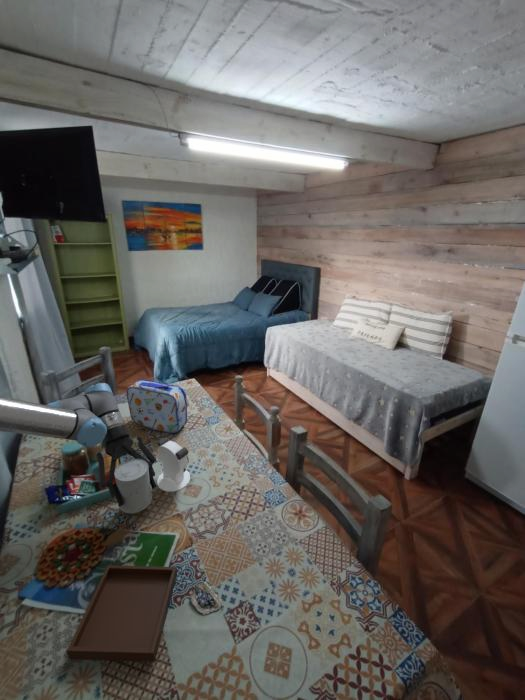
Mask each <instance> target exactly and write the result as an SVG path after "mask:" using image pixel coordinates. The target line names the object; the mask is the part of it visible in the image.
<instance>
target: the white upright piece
mask: <svg viewBox="0 0 525 700" xmlns="http://www.w3.org/2000/svg"><path fill="white" fill-rule="evenodd" d="M156 445H157V447H158V450H157V456H158V459H159V461H160V463H161V465H162V473H160V474H159V476H158V478H157V479H156V485H157V487H158V488H159V489H160V490H161V491H162V492H163V491H164V492H166V493H174V492H178V491H180V490H182V489H184V488H185V487H186V486H187V485H189V483H190V480H191V474H190V472H189V471H188V470H187V468H186V467H188V465H189V463H190V460H189V457H188V455H189V451H188V449H187V448H186V447H182V446H181V445H180V444H178V443H177V442H175V441H173V440H170V439H169V437H166V436H165V437H164V438H162V439H160V440H159V441H157V442H156Z"/></svg>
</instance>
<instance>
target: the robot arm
mask: <svg viewBox="0 0 525 700" xmlns="http://www.w3.org/2000/svg"><path fill="white" fill-rule="evenodd" d="M0 432H1V433H10V434H19V435H28V436H34V437H35V436H37V437H45V438H51V439H61V440H70V441H76V442H77V443H78V445H80V446H83V447H85V448H93V447H96V446H97V445H99V444H101V443H103V445H104V450H103V451H100V452H97V453H96V455H95V458H96V460H97V462H98V477H99V478H98V479H99V487H100V488H107V489H108V491H109V494H110V496H111V497H112V498H113V497H115V498H116V501H117V504H118V507H119V508H120V506H122V505H124V503H123V501H122V498H121V495H120V493H119V490H118V487H117V485H116V482H115V483H114V479H115V475H114V472H115V470H116V468H117V467H116V466H117V461H118V460H119V459H121V458H122V457H126V456H128V455H129V456H130V457H132V458H133V459H142V460H145V461H146V462H147V463H148V466H149V467H148V469H149V478H150V487H151V490H154V489H155V488H157V487H158V484H157V482H156V480H155V478H154V477H155V476H156V472H155V469H154V467H153V465H154V464H155V463H156V462H157V458H156V457H155V456H154V454H153V453H152V451H151V450H150V449H149V448H148V446H146V445H147V444H145V443H144V440H143V437H142V436H141V435H138V436H137V437H135V438H132V437H131V436H130V433H129V431H128V429H127V426H126V425H125V421H124V419H123V416H122V414H121V411H120V409H119V407H118V403H117V401H116V398H115V395H114V393H113V391H112V389H111V386H110V385H109V384H108V383H105V382H98V383H95V384H93V385H89V386H88V387H87V388H86V389H85V390H84V394H82V395H78V396H73V397H69V398H64V399H58V400H56V401H53V402H49V403H47V404H41V403H37V402H32V401H26V400H21V399H16V398H11V397H6V396H1V395H0ZM133 444H134V445H136V446H137V447H138V448H139V449H140V452H142V453H143V455H144V456H145V457H146V458H145V457H144V456H143V455H142V454H140V453H139V452H138V451H137V450H136V449H134V448H133ZM106 455H107V456H109V457H111V458H110V466H109V471H108V477H107V481H106V472H105V470H106V469H105V458H106Z"/></svg>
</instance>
